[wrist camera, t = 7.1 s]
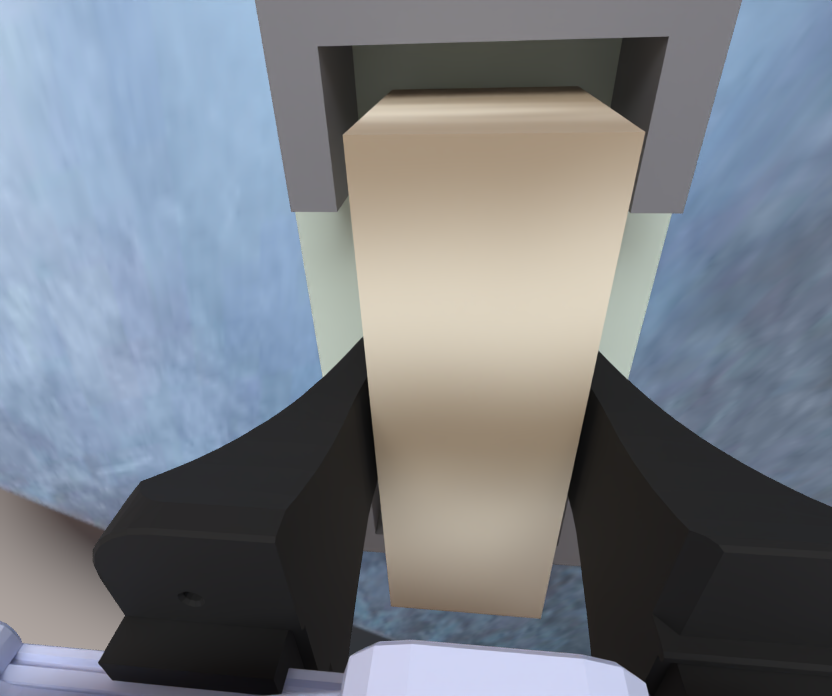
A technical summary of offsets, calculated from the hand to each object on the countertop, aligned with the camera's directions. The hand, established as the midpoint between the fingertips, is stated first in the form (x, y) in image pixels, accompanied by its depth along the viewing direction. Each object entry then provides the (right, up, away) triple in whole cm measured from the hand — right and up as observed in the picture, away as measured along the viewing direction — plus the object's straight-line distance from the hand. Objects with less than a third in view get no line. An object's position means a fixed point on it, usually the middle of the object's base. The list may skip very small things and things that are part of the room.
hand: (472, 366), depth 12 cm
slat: (0, +1, +2) cm, 2 cm away
